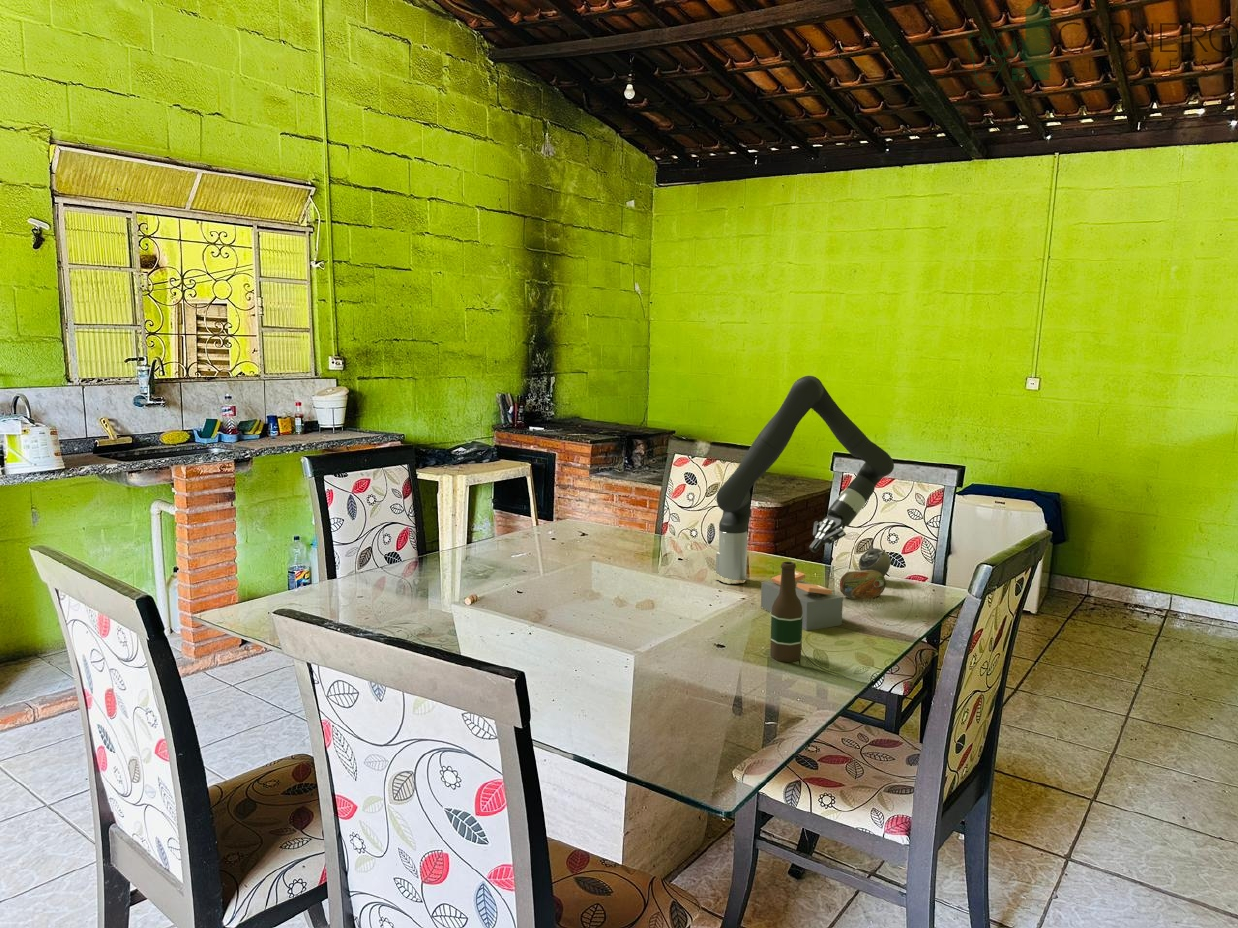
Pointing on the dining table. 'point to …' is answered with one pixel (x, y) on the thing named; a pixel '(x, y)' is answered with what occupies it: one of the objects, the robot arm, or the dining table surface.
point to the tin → (862, 584)
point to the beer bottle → (786, 619)
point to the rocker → (797, 577)
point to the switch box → (808, 605)
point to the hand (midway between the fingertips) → (812, 550)
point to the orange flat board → (814, 588)
